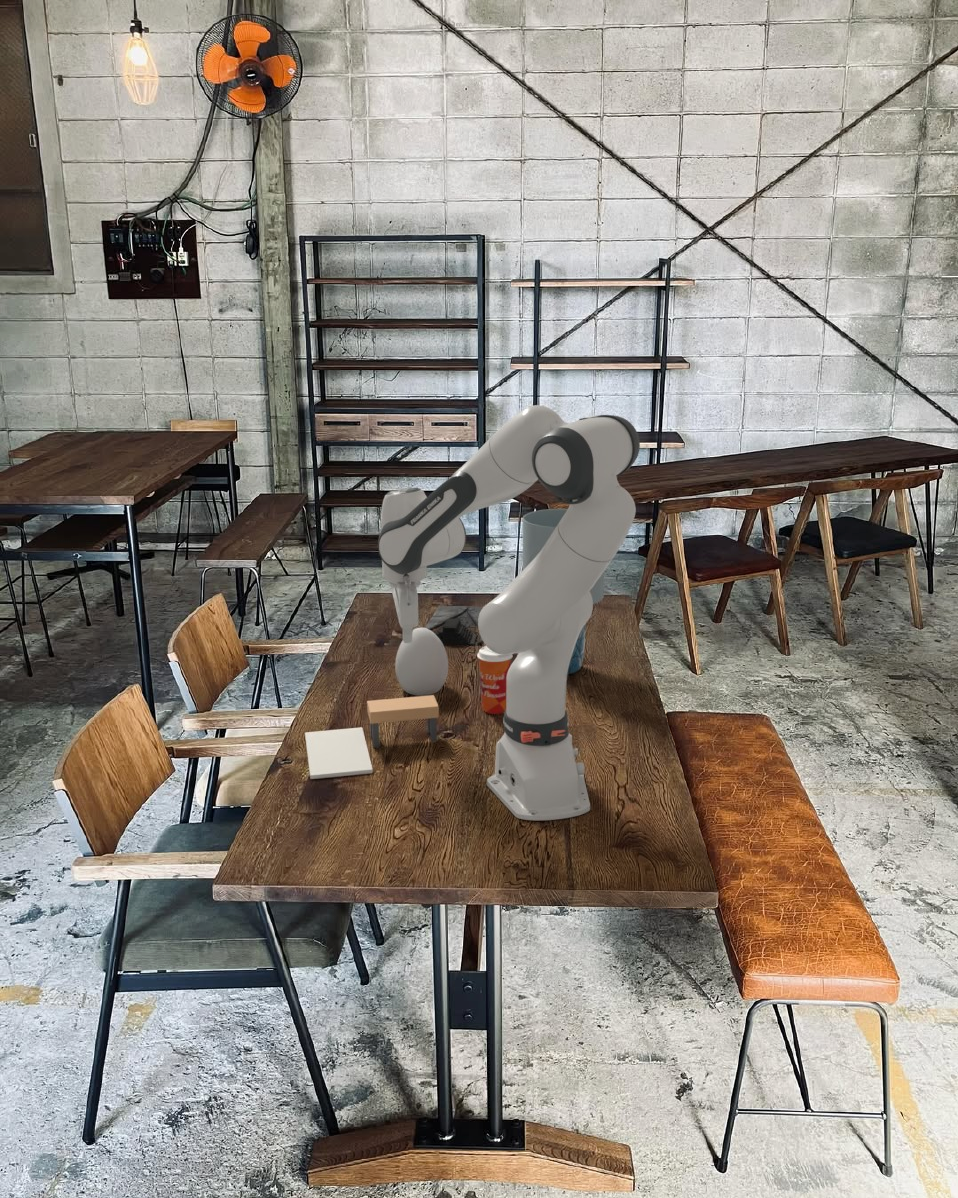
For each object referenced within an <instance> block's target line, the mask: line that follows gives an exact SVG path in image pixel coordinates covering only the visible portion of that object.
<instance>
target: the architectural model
mask: <svg viewBox="0 0 958 1198" xmlns="http://www.w3.org/2000/svg"><path fill="white" fill-rule="evenodd" d="M483 607H484V606H463V605H462V606H459V605H438V607H437V608H436V610H435V611H434V612H433V615H432V617H431V618H429V621H428V622H427V624H426V626H425V627H424V628H427V629H429V630H431V631H432V630H434V631H432V632H433V633H435V634H436V635H437V637H438V638H439V639H440V640H441V642H442V644H443V645H455V646H456V645H458V646H460V645H461V646H479V647H480V646H481V642H483V640H482V638H481V636H480V633H478V634H477V632H476V631H474V630H472V629H475V628H477V629H478V618H479V614H480V612H481V610H482V608H483ZM438 628H439V629H438ZM470 628H471V629H470ZM435 629H437V630H435ZM477 637H478V641H477Z"/></svg>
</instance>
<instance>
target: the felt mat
mask: <svg viewBox="0 0 958 1198" xmlns="http://www.w3.org/2000/svg"><path fill="white" fill-rule="evenodd" d="M304 737H305V745H306V746H305V747H306V753H307V762H308V770H309V777H310V778H309V779H310V780H315V779H317V780H318V779H325V778H326V779H327V778H338V777H344V776H345V777H346V776H355V775H357V776H358V775H367V774H368V775H369V774H373V772H374V769H373V766H372V762H371V757H370V753H369V749H368V745H367V742H366V738H365V733H364V729H363V727H362V726H361V727H353V728H351V727H350V728H340V729H329V730H319V731H318V730H317V731H316V730H315V731H308V732H304Z"/></svg>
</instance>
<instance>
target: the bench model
mask: <svg viewBox="0 0 958 1198" xmlns="http://www.w3.org/2000/svg"><path fill="white" fill-rule="evenodd" d="M366 706H367V707H366V710H367V715H368V719H369V729H370V730H369V731H370V733H369V734H370V735H369V736H370V739H371V740H372V747H373V749H375V748H380V733H379V730H380V729H379V728H380V727H379V724H382V723H393V722H402V721H403V722H404V721H415V720H417V721H418V720H425V719H426V732H427V734H430V735H429V736H430V737H429V738H430V742H431V743H437V742H438V725H437V724H438V721H437V719H438V718H439V717H440V715H439V712H440V711H439V710H440V709H439V704H438V702H437V699H436V697H435V695H434V694H431V695H423V696H420V695H417V696H409V697H407V696H406V697H399V698H398V697H395V698H385V699H374V700H367V701H366Z"/></svg>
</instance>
